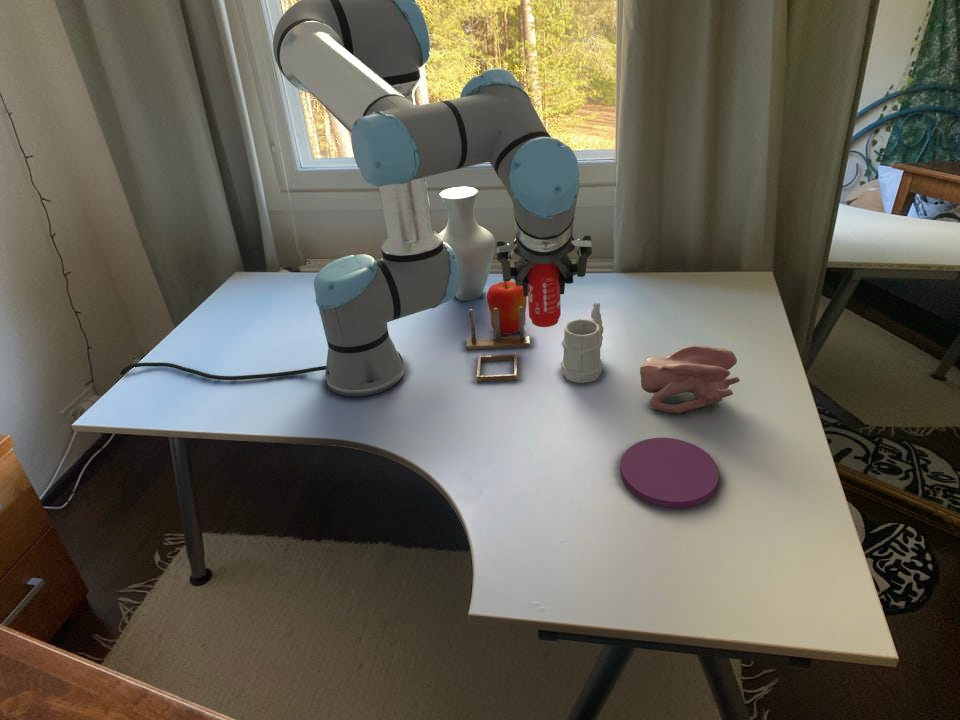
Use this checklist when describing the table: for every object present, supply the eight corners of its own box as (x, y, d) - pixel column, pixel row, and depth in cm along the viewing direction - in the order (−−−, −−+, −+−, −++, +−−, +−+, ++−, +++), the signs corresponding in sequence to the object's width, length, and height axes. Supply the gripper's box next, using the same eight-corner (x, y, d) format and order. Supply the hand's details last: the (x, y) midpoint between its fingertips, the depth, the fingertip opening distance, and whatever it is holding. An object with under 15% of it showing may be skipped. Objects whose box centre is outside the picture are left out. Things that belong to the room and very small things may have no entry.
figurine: (652, 429, 108) (737, 418, 98) (628, 380, 106) (712, 363, 96) (676, 393, 117) (756, 379, 106) (654, 346, 114) (734, 328, 104)
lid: (609, 493, 91) (609, 487, 90) (632, 435, 101) (633, 429, 101) (710, 519, 85) (711, 512, 85) (724, 455, 96) (725, 449, 95)
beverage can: (552, 330, 100) (550, 261, 94) (523, 324, 102) (519, 256, 96) (566, 316, 104) (565, 248, 97) (538, 311, 106) (535, 244, 100)
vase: (426, 300, 149) (412, 197, 136) (462, 277, 159) (452, 179, 146) (475, 313, 142) (465, 206, 128) (510, 288, 151) (504, 186, 138)
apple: (507, 344, 129) (504, 292, 123) (480, 331, 135) (476, 281, 128) (536, 328, 134) (534, 278, 127) (509, 316, 139) (506, 267, 133)
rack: (531, 379, 118) (529, 340, 113) (462, 382, 119) (458, 343, 114) (529, 339, 130) (528, 302, 126) (467, 342, 131) (463, 306, 127)
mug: (553, 377, 117) (552, 321, 111) (582, 348, 125) (582, 294, 119) (591, 388, 113) (592, 331, 107) (618, 357, 121) (620, 302, 115)
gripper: (475, 258, 81) (489, 312, 104) (617, 249, 80) (600, 306, 102) (473, 205, 83) (488, 269, 106) (612, 196, 81) (597, 263, 104)
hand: (543, 287), depth 104 cm, fingers closed on beverage can, 5 cm apart
